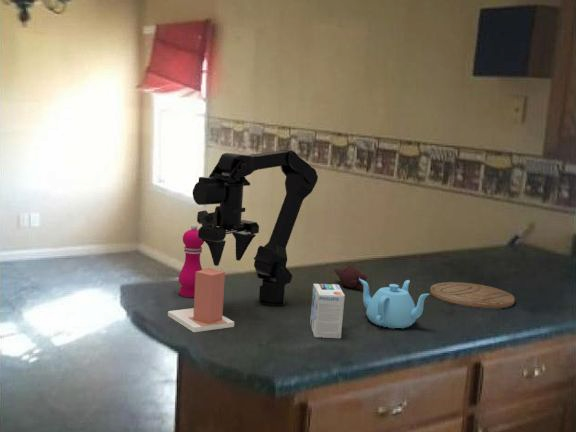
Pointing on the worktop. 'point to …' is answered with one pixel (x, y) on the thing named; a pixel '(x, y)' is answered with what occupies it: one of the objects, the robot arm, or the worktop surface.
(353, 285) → the maroon lumpy piece
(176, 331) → the worktop surface
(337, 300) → the light bulb box
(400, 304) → the teapot
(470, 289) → the trivet
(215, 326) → the board
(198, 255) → the pepper mill
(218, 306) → the block
